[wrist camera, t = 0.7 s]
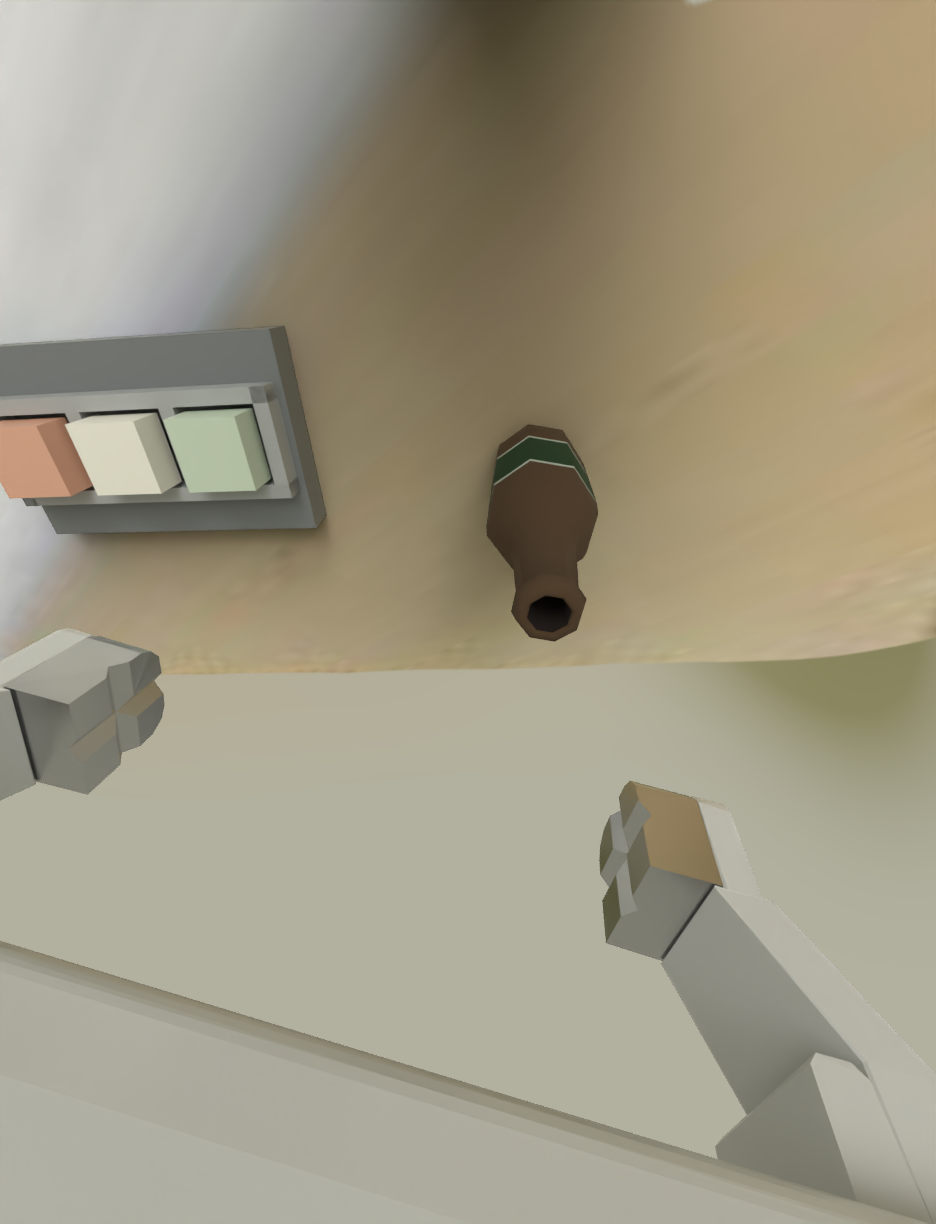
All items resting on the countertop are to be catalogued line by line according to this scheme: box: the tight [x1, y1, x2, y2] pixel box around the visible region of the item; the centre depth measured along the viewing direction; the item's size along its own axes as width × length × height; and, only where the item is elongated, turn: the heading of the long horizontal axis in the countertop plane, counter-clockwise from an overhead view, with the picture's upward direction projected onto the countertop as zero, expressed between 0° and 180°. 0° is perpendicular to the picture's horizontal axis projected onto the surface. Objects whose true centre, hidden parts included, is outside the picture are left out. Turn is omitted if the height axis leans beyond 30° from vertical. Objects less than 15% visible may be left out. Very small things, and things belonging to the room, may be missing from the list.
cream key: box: [65, 413, 182, 496], centre depth 41 cm, size 6×6×3 cm
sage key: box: [163, 408, 271, 493], centre depth 41 cm, size 6×6×3 cm
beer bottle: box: [487, 424, 598, 641], centre depth 35 cm, size 8×8×24 cm
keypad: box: [0, 326, 326, 534], centre depth 44 cm, size 16×26×5 cm, turn 93°
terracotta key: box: [0, 417, 93, 498], centre depth 42 cm, size 6×6×3 cm
